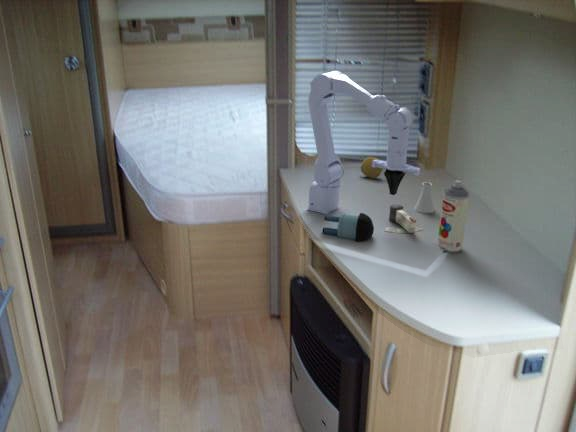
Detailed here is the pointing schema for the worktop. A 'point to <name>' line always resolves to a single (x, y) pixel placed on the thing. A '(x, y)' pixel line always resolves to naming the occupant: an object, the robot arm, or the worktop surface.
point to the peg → (402, 218)
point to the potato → (370, 168)
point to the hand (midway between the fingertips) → (393, 193)
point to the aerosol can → (453, 218)
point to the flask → (425, 200)
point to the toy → (351, 227)
